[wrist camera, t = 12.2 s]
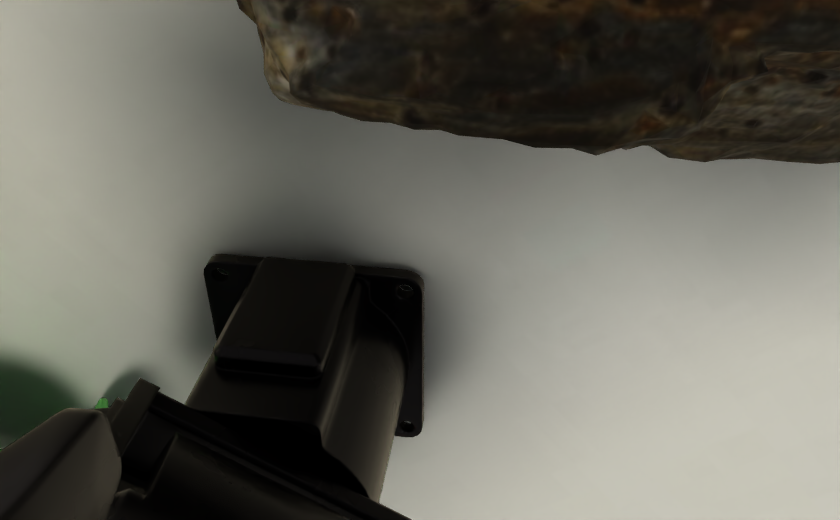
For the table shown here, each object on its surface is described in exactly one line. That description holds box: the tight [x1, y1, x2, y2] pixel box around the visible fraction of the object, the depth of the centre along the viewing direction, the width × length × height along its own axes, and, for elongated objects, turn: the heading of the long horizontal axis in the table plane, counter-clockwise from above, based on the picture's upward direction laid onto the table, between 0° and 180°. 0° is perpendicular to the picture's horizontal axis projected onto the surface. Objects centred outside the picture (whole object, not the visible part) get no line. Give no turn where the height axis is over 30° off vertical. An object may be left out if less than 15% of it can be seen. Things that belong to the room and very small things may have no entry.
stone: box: [237, 0, 840, 164], centre depth 14 cm, size 7×8×15 cm
